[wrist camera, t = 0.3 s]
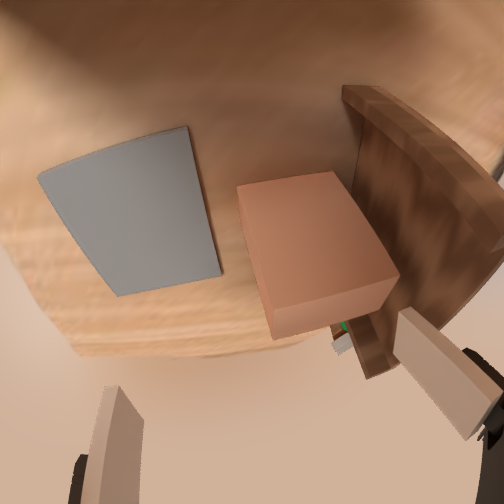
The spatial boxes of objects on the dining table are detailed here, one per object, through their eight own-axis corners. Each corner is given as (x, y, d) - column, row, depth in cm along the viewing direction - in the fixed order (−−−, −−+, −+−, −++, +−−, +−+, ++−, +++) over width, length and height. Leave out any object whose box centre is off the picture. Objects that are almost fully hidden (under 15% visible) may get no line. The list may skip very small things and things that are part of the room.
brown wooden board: (342, 85, 18) (502, 235, 8) (379, 86, 18) (530, 223, 8) (317, 260, 35) (366, 379, 25) (342, 254, 36) (394, 368, 26)
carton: (236, 186, 24) (273, 310, 16) (332, 170, 25) (400, 275, 17) (241, 226, 28) (272, 340, 20) (326, 210, 29) (379, 309, 21)
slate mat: (39, 173, 17) (36, 177, 17) (187, 126, 19) (187, 129, 18) (117, 292, 31) (117, 296, 31) (220, 271, 33) (221, 275, 32)
